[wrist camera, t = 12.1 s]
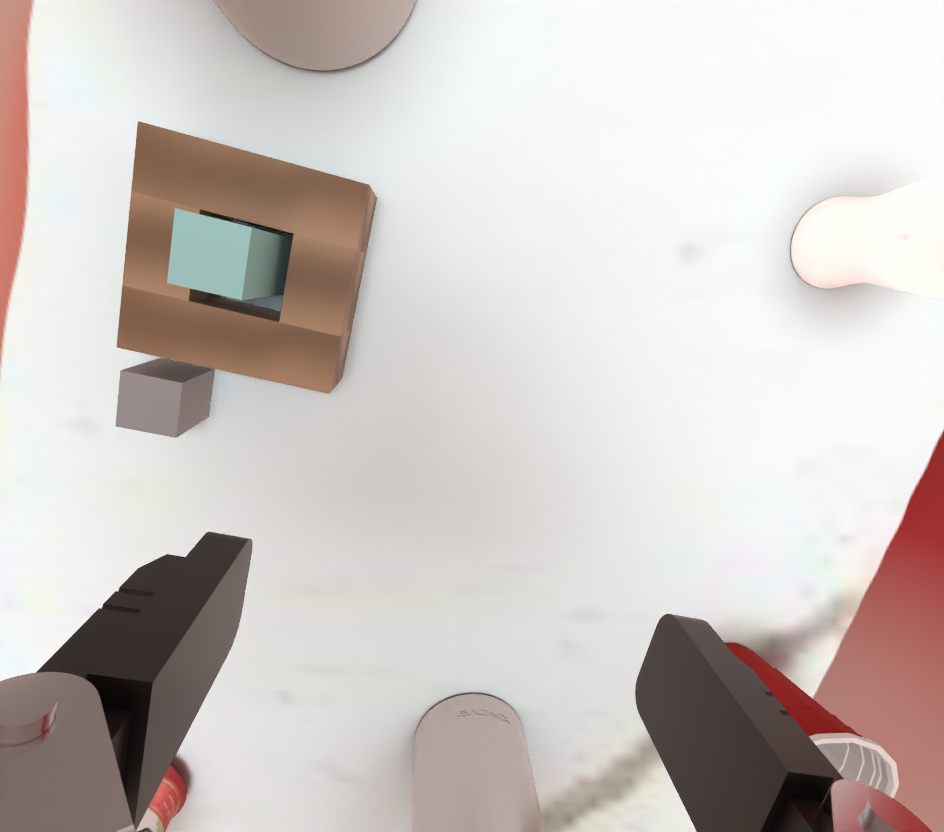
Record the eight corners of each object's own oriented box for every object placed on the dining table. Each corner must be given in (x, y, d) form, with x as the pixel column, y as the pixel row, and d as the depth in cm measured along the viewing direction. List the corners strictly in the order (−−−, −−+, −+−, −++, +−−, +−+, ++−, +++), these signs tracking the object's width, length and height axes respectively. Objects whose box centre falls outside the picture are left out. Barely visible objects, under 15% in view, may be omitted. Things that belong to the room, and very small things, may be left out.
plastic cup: (645, 717, 47) (718, 863, 35) (684, 609, 44) (776, 727, 33) (757, 731, 48) (863, 876, 36) (801, 628, 46) (929, 747, 34)
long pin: (300, 240, 34) (251, 227, 25) (291, 293, 35) (241, 300, 26) (245, 227, 34) (175, 208, 24) (238, 281, 35) (167, 282, 25)
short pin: (208, 416, 37) (176, 437, 32) (156, 406, 36) (115, 426, 32) (214, 368, 36) (182, 382, 31) (161, 357, 36) (120, 370, 31)
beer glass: (772, 288, 38) (987, 296, 23) (798, 183, 36) (1046, 122, 22) (862, 299, 39) (1123, 314, 24) (891, 197, 37) (1190, 146, 23)
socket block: (341, 378, 37) (329, 393, 32) (158, 337, 35) (116, 347, 30) (376, 197, 34) (368, 184, 29) (180, 144, 33) (138, 121, 28)
